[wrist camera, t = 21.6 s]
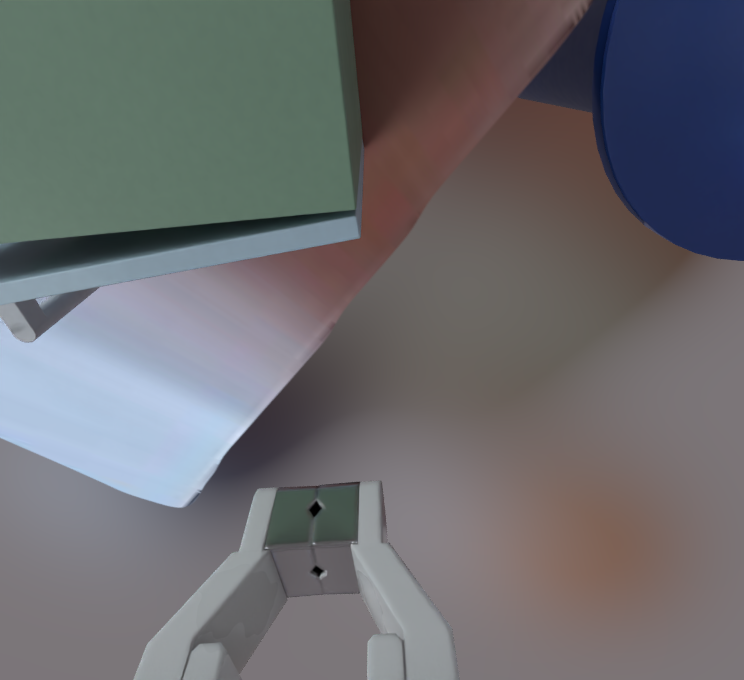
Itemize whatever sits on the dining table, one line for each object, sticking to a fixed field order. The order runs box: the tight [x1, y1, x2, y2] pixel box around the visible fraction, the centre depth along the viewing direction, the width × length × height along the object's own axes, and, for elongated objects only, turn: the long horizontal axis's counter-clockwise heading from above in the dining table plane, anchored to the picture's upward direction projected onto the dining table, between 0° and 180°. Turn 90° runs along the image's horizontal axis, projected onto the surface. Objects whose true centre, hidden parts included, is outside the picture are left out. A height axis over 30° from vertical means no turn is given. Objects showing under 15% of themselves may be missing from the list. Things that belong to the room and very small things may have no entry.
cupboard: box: [0, 0, 362, 244], centre depth 25 cm, size 16×26×24 cm, turn 95°
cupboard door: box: [0, 139, 364, 342], centre depth 31 cm, size 6×26×24 cm, turn 101°
